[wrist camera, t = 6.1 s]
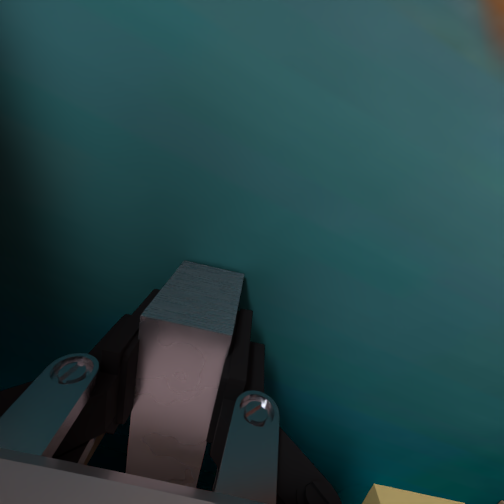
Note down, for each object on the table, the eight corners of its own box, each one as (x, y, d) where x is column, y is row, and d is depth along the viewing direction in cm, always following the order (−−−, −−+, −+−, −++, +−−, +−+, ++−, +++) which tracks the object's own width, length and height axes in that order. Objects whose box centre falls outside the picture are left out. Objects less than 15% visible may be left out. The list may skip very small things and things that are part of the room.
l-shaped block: (184, 260, 12) (140, 315, 8) (433, 317, 13) (517, 399, 8) (147, 508, 19) (112, 611, 14) (312, 542, 19) (325, 653, 15)
